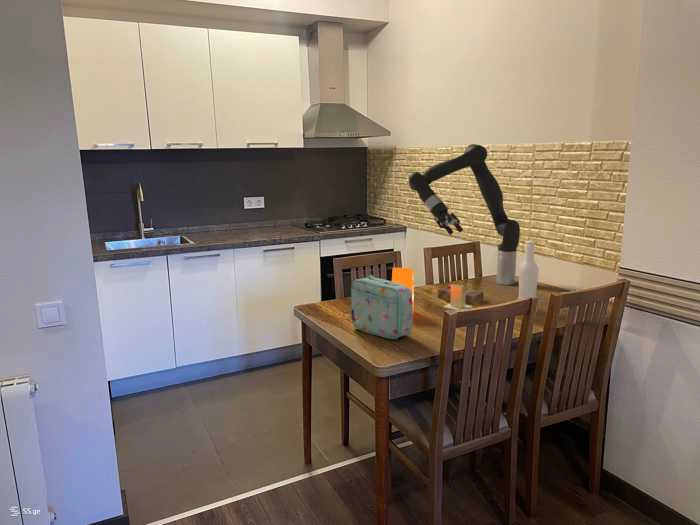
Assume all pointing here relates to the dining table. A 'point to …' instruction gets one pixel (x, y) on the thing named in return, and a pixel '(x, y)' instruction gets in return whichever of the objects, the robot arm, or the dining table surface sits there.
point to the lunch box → (381, 307)
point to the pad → (456, 307)
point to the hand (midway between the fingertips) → (456, 232)
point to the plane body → (470, 296)
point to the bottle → (528, 273)
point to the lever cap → (458, 295)
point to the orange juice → (404, 278)
